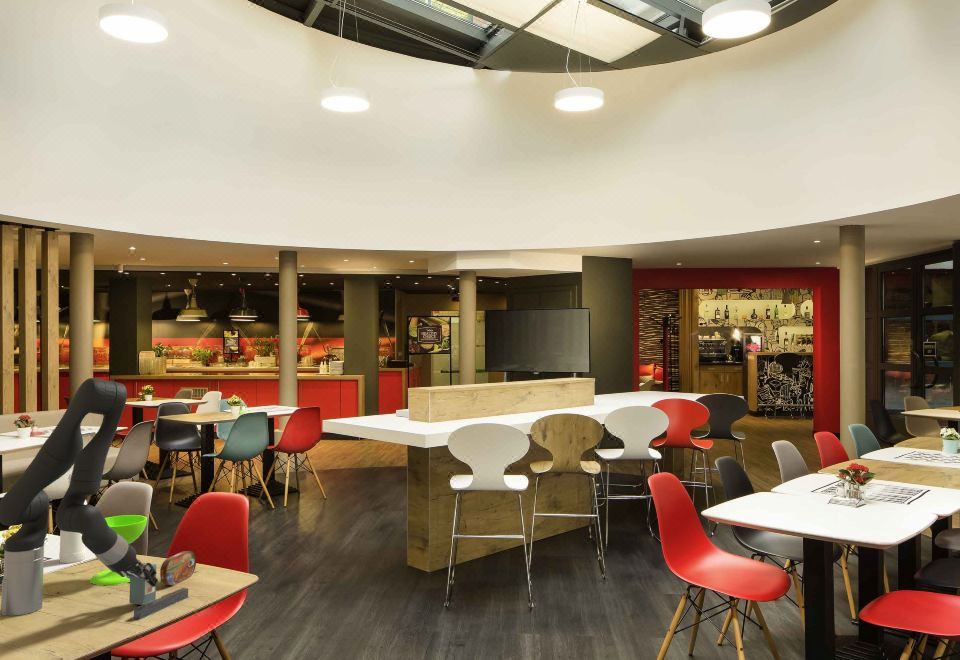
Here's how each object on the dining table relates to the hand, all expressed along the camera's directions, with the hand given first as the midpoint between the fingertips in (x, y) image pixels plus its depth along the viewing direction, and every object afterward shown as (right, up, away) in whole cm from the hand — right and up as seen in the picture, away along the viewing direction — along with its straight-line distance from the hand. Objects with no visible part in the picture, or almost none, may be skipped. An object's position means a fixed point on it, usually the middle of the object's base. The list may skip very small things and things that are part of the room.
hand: (147, 582), depth 195 cm
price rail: (+6, -5, -4) cm, 9 cm away
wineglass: (-20, -7, +22) cm, 31 cm away
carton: (-1, -5, -2) cm, 5 cm away
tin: (0, -7, +19) cm, 20 cm away
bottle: (-46, -7, +40) cm, 62 cm away
